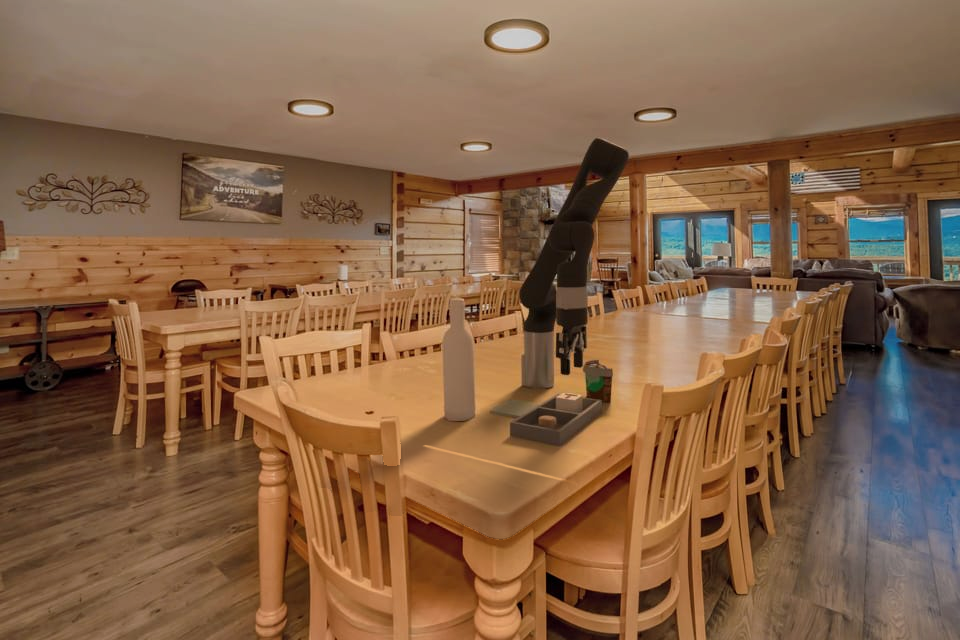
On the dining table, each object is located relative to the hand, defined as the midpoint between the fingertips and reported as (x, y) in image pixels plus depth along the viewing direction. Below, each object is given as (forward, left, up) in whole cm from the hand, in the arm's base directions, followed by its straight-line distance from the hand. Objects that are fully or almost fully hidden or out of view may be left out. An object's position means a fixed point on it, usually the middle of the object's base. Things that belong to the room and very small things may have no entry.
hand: (572, 370), depth 121 cm
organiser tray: (-1, -7, -12) cm, 14 cm away
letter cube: (-1, 0, -11) cm, 11 cm away
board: (-14, -3, -12) cm, 18 cm away
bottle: (-25, -14, -12) cm, 31 cm away
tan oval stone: (-1, -13, -11) cm, 17 cm away
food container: (-1, +17, -12) cm, 21 cm away
